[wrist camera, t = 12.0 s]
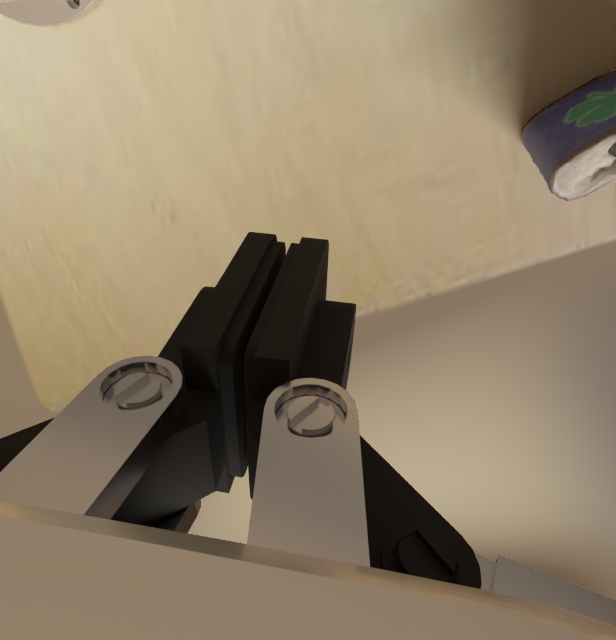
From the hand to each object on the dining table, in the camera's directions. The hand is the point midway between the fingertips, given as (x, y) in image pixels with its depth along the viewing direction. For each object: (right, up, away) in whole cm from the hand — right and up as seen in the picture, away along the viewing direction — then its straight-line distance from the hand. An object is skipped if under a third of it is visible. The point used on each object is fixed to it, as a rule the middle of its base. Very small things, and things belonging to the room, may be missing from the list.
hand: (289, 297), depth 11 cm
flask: (+18, +13, +21) cm, 31 cm away
